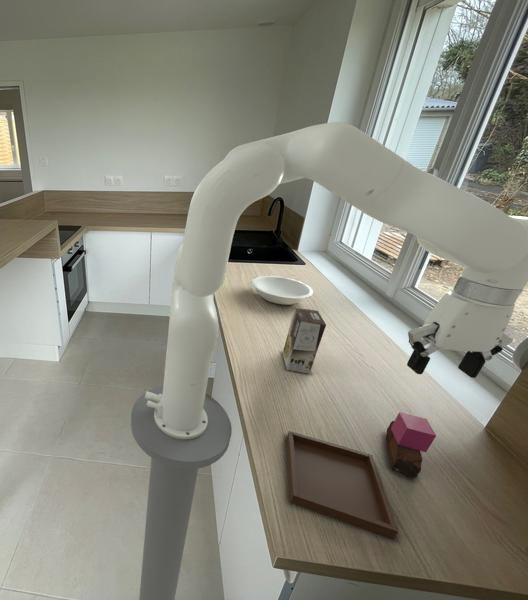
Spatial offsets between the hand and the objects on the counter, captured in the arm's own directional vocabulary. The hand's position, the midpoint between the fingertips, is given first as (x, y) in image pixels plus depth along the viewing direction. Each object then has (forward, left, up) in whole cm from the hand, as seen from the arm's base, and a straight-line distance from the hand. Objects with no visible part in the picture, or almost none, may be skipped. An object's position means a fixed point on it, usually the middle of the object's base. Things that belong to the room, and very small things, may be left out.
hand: (439, 371), depth 62 cm
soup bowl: (-24, +69, -20) cm, 75 cm away
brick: (-2, -4, -20) cm, 20 cm away
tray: (-16, -16, -20) cm, 30 cm away
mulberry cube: (-1, -4, -15) cm, 15 cm away
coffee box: (-20, +23, -20) cm, 36 cm away
